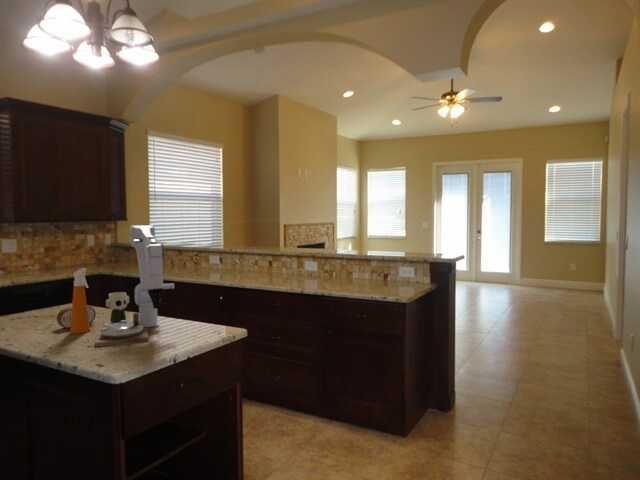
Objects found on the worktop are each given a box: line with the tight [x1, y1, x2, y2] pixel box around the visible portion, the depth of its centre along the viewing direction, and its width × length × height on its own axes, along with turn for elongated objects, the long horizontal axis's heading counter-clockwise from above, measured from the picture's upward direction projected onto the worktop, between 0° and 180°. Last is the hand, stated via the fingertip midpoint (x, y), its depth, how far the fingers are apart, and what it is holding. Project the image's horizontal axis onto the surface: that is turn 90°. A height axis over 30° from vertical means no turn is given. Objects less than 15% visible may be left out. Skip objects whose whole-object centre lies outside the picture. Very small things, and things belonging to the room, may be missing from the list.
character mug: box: [105, 291, 130, 324], centre depth 198 cm, size 11×7×13 cm, turn 148°
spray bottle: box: [70, 267, 91, 335], centre depth 182 cm, size 7×11×26 cm, turn 53°
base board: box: [94, 326, 149, 348], centre depth 176 cm, size 18×18×2 cm
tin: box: [56, 304, 97, 329], centre depth 193 cm, size 15×3×8 cm, turn 141°
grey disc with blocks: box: [100, 312, 143, 338], centre depth 176 cm, size 15×15×7 cm
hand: (155, 308), depth 181 cm, fingers closed
